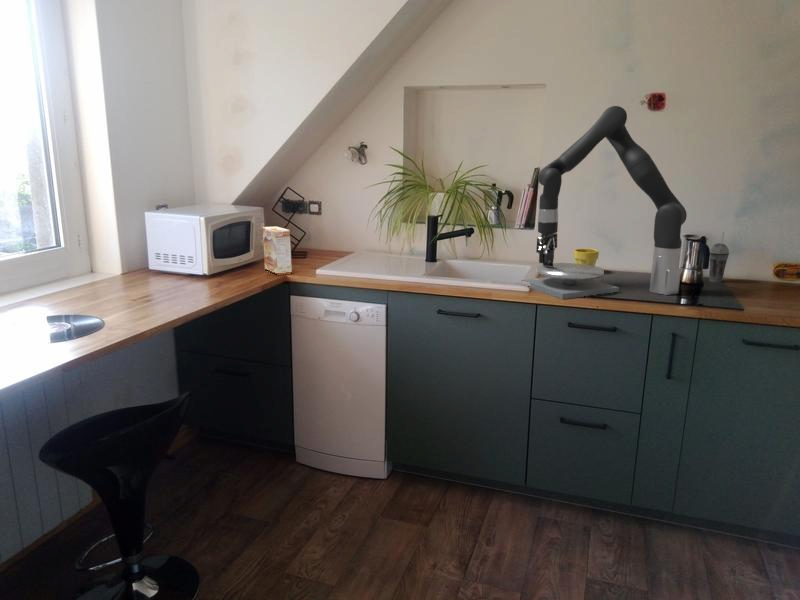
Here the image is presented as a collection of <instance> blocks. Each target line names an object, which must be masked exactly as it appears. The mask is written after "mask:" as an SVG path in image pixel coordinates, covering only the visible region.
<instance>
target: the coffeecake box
mask: <svg viewBox="0 0 800 600" xmlns="http://www.w3.org/2000/svg"><path fill="white" fill-rule="evenodd" d="M262 242H263V256H264V257H263V260H264V270H265V269H267V270H270V271H272V272H275V273H286V272H292V271H293V270H292V269H293V268H292V252H291V251H292V249H291V248H292V247H291V230H290V229H287V228H284V227H280V226H277V225H276V226H275V225H274V226H263V227H262ZM292 273H293V272H292Z"/></svg>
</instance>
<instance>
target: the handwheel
mask: <svg viewBox="0 0 800 600" xmlns="http://www.w3.org/2000/svg"><path fill="white" fill-rule="evenodd" d="M554 260H555V250H552V249H547V250H546V252H545V263H541V264H539V265H537V266H536V273H537V274H539V275H541V276H544V277H552V278H560V279H576V280H581V279H591V280H594V279H598V278H603V276H604V273H605V271H604V269H603V268H602V267H599V266H596V265H595V266H591V265H585V264H576V262H575V263H574V262H554Z"/></svg>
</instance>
